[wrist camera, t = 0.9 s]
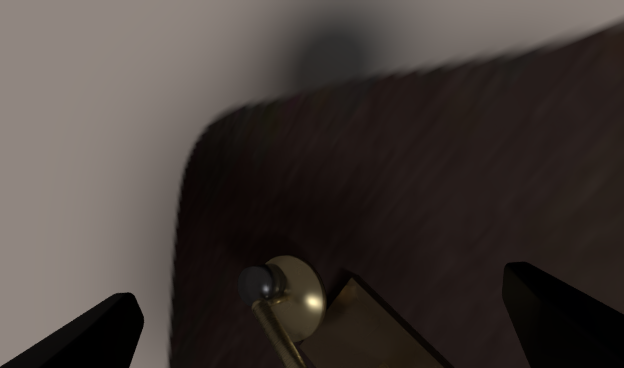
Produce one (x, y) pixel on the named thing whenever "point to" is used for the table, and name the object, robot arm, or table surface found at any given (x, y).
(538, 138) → the table surface
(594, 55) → the table surface
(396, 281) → the table surface
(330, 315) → the balance
